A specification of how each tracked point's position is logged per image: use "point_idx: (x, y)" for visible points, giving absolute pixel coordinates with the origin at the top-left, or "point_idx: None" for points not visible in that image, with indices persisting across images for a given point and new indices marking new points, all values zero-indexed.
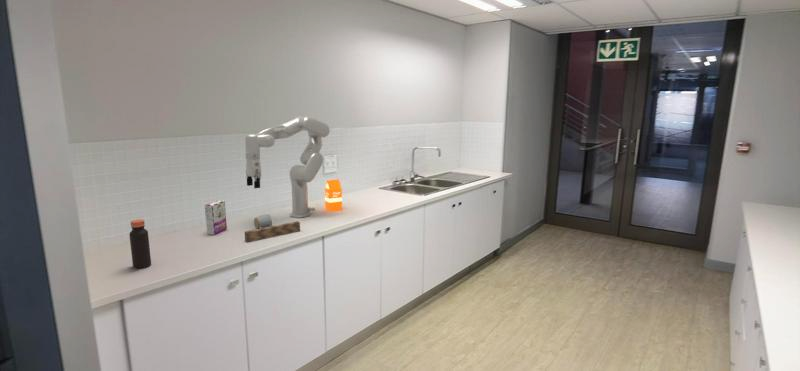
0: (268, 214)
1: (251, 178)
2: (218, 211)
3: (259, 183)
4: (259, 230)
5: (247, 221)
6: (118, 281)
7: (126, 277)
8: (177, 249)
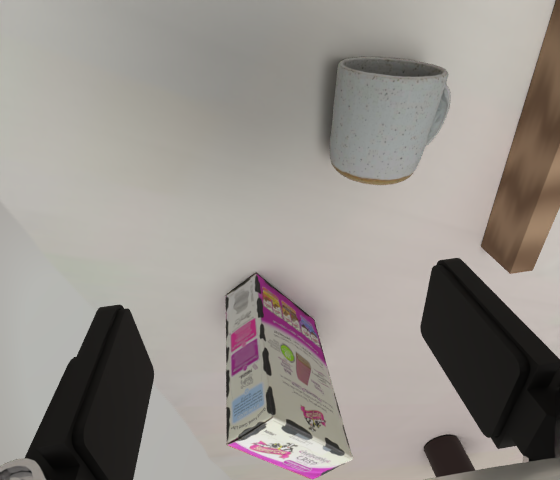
0: (415, 84)
1: (64, 460)
2: (313, 393)
3: (509, 321)
4: (555, 212)
5: (135, 142)
6: (485, 459)
7: (478, 454)
8: (384, 402)
